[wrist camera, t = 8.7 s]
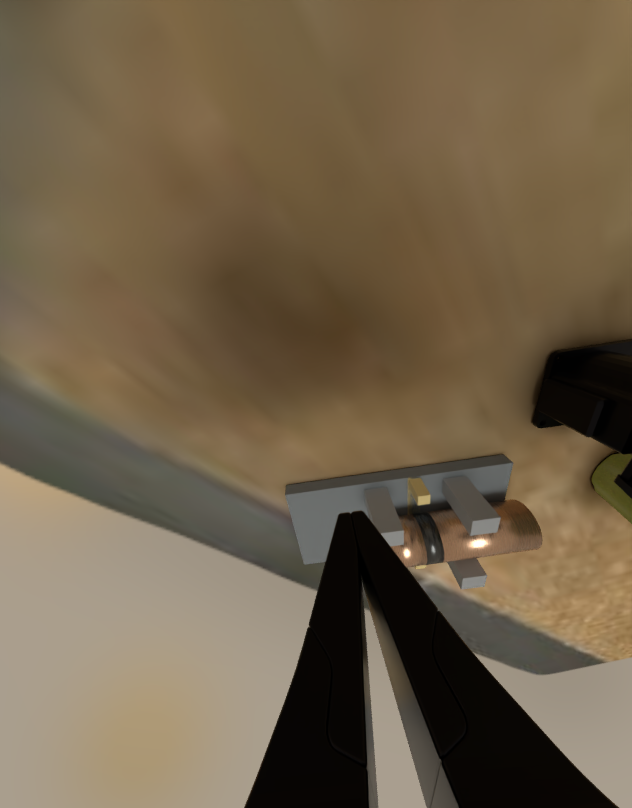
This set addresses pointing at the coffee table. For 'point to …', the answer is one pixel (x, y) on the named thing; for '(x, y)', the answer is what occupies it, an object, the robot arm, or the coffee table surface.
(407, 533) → the copper tube
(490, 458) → the board
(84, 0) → the coffee table surface
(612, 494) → the plant pot
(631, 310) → the coffee table surface
